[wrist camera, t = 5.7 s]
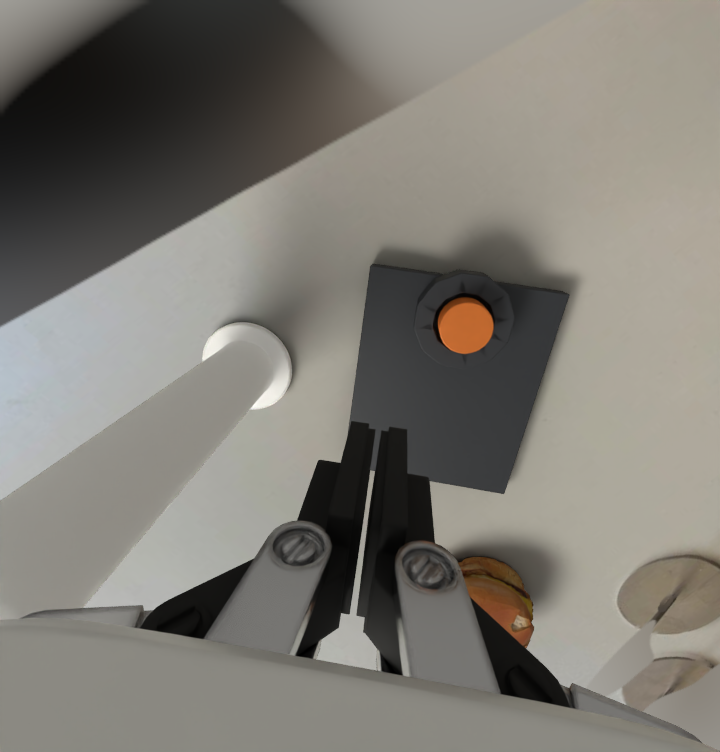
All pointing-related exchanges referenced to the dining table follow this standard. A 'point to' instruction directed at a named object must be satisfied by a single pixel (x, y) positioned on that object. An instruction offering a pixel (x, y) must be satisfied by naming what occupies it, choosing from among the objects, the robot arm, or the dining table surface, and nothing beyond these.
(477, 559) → the burger
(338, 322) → the dining table surface
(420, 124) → the dining table surface
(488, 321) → the button
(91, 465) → the candle
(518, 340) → the scale
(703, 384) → the dining table surface
